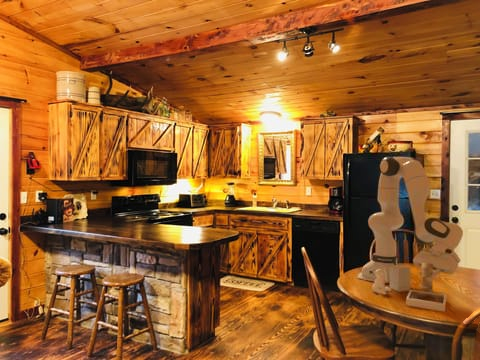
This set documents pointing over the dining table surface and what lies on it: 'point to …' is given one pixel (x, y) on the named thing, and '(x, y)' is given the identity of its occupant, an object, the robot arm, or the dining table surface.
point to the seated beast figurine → (379, 283)
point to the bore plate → (427, 297)
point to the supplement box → (400, 278)
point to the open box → (426, 303)
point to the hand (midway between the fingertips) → (426, 275)
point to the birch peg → (427, 277)
